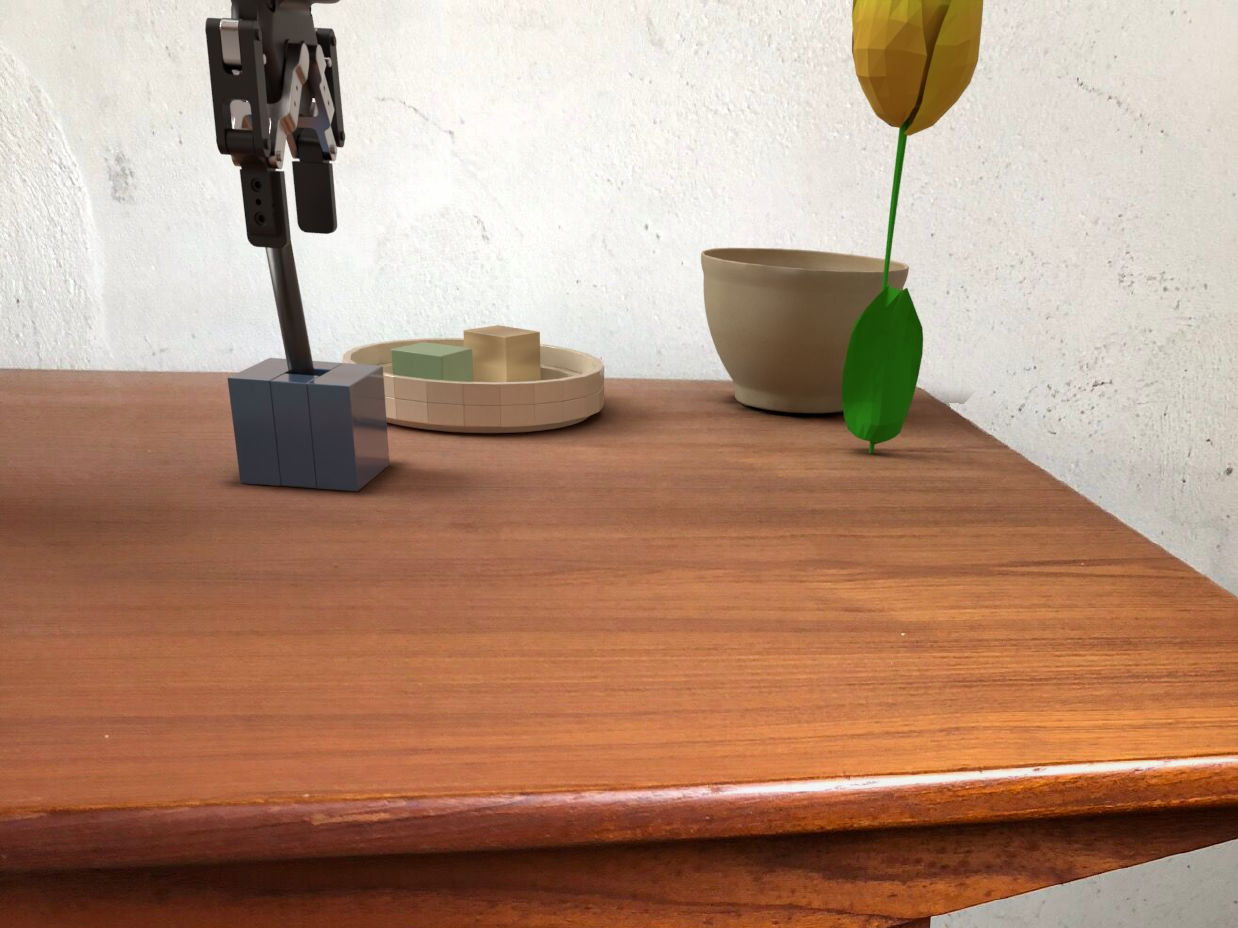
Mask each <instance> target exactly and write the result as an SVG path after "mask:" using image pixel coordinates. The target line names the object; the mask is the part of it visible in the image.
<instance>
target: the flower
mask: <svg viewBox="0 0 1238 928" xmlns="http://www.w3.org/2000/svg"><path fill="white" fill-rule="evenodd" d="M983 13H984V0H852V8H851V24H852V34H851V54H852V58H853V62H854V63H853V65H854V70H855V71H854V72H855V75H856V77H857V80H858V83H859V85H860V87H861V90H862V92H863V94H864V95H865V98H866V100H867V101H868V103H869V105H870V108H871V109H872V111H873V112H874V115H875V116H876V117H877V118H879V119H880V120H881V121H883V122H885V124H887V125H888V126H890V127H892V128H899V129H898V138H897V144H896V146H897V148H896V155H895V163H894V171H893V172H894V173H893V179H892V187H891V197H890V205H889V217H888V225H887V234H886V235H887V238H886V245H885V255H884V256H885V257H884V259H885V265H884V275H883V285H882V292H881V293H880V294H879V295H878V296H877V297H876V298H875V299H874V300H873V301H872V302H871V303H870V304H869V306H868V307H867V308H866V309H865V310H864V311H863V313H862V314H861V315H860V316H859V318H858V319H857V320H856V321H855V324H854V327H853V331H852V334H851V337H850V342H849V346H848V351H847V355H846V360H845V365H844V369H843V380H842V406H843V411H842V412H843V418H844V422H845V424H846V428H847V431H848V432H850V433H851V434H852V435H854V436H855V437H856V439H857V438H858V439H860V440H862V441H866V442H869V449H868V453H869V454H874V453H875V445H878V444H881V443H884V442H888V441H890V440H892V439H894V438H896V437H897V436H898V435H900V434H901V432H902V429H903V427H904V424H905V421H906V418H907V416H908V413H909V411H910V407H911V404H912V401H913V399H914V395H915V391H916V388H917V384H918V380H919V376H920V375H919V374H920V370H921V364H922V359H923V353H924V352H923V351H924V332H923V331H924V329H923V325H922V322H921V321H920V318H919V315H918V312H917V310H916V307H915V305H914V301H913V299H912V297H911V293H910V291H909V288H908V287H905V288H903V290H902V291H901V290H898V289H896V288H894V287H891V286H888V287H887V284H888V273H889V265H890V260H891V257H892V256H891V255H892V249H893V248H892V247H893V239H894V233H895V224H896V216H897V211H898V210H897V209H898V202H899V195H900V188H901V182H902V176H903V175H902V173H903V168H904V161H905V153H906V149H907V148H906V145H907V139H908V137H909V136H913V135H915V134H918V133H919V132H922V131H924V130H927V129H929V128H931V127H934V125H935V124H937V123H938V122H939V120H940V119H941V118H942V117H943V116H945V115H946V114H947V112H948V111H949V110H951V108H952V107H953V106H954V105H955V104H956V103H958V101H959V99H960V98H961V96H962V95H963V94H964V92H965V91H966V89H967V88H968V87H969V86H970V84H971V82H972V80H973V76H974V73H975V71H976V69H977V66H978V62H979V56H980V47H981V37H982V24H983Z"/></svg>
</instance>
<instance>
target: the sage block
mask: <svg viewBox="0 0 1238 928" xmlns="http://www.w3.org/2000/svg"><path fill="white" fill-rule="evenodd" d="M391 357H392V373H393V374H394V375H399V376H407V377H415V378H423V379H432V380H447V381H461V382H474V380H473V354H472V348H465V347H458V346H450V345H442V344H434V343H427V342H421V343H417V344H412V345H408V346H403V347H399V348H395V349H391Z"/></svg>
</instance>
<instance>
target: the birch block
mask: <svg viewBox="0 0 1238 928" xmlns="http://www.w3.org/2000/svg"><path fill="white" fill-rule="evenodd" d="M462 333H463V338H464V347H465V348H472V354H473V380H474V382H526V381H540V380H541V378H540V344H541V332H540V331H537V330H531V329H525V328H518V327H513V326H512V327H511V326H506V325H500V324H497V325H489V326H483V327H476V328H470V329H469V328H468V329H464V330H463V332H462Z"/></svg>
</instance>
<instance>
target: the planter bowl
mask: <svg viewBox="0 0 1238 928" xmlns="http://www.w3.org/2000/svg"><path fill="white" fill-rule="evenodd" d="M700 264H701V269H702V273H703V274H702V275H703V285H702V286H703V302H704V310H705V311H704V312H705V316H706V317H705V318H706V321H707V325H708V330H709V333H710V336H711V339H712V342H713V345H714V347H715V348H714V349H715V350H716V353H717V354H718V357H719V359H720V361H721V363H722V365H723V367H724V369H725V371H726V372H727V374H728V375H729V378H730V379H731V380H732V382H733V388H734V398H735V400H736V401H738V402H739V403H741V404H742V405H744V406H746V407H753V408H757V409H761V410H768V411H774V412H782V413H794V414H795V413H796V414H829V413H837V414H840V413H842V412H843V406H842V380H843V369H844V365H845V360H846V355H847V351H848V346H849V342H850V337H851V334H852V331H853V327H854V324H855V321H856V320H857V319H858V318H859V316H860V315H861V314H862V313H863V311H864V310H865V309H866V308H867V307H868V306H869V304H870V303H871V302H872V301H873V300H874V299H875V298H876V297H877V296H878V295H879V294H880V293H881V292H882V285H883V275H884V265H885V258H881V257H874V256H867V255H859V254H850V253H841V252H834V251H833V252H832V251H822V250H812V249H799V248H798V249H797V248H796V249H795V248H781V247H780V248H777V247H776V248H775V247H774V248H773V247H772V248H771V247H716V248H715V247H713V248H708V249H705V250H702V251H701V253H700ZM909 269H910V266H909V265H908V264H907V263H904V262H902V261H901V262H900V261H897V260H894V259H893V260H892V259H890V265H889V273H888V284H887V287H888V286H891V287H894V288H896V289H898V290H901V291H902V290H904V287H905V285H906V282H907V280H908V276H909Z"/></svg>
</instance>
